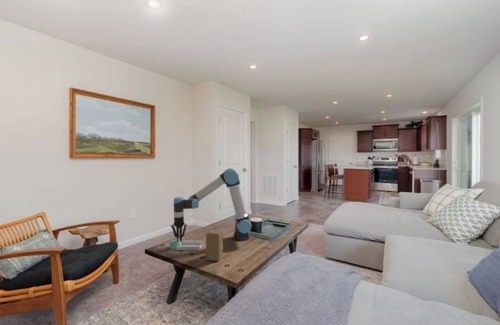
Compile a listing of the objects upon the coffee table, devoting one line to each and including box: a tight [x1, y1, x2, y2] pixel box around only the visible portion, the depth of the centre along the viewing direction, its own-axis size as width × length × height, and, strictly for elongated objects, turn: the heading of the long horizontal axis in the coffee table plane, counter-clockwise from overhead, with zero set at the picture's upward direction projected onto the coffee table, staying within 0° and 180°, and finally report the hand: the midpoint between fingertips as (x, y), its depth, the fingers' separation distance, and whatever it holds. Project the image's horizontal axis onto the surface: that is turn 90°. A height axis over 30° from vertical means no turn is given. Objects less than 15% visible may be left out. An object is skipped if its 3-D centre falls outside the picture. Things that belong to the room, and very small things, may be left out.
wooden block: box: [205, 228, 224, 262], centre depth 166 cm, size 10×10×20 cm
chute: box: [176, 240, 204, 251], centre depth 185 cm, size 18×12×4 cm, turn 90°
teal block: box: [169, 239, 178, 250], centre depth 185 cm, size 6×6×5 cm
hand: (179, 245), depth 185 cm, fingers closed
